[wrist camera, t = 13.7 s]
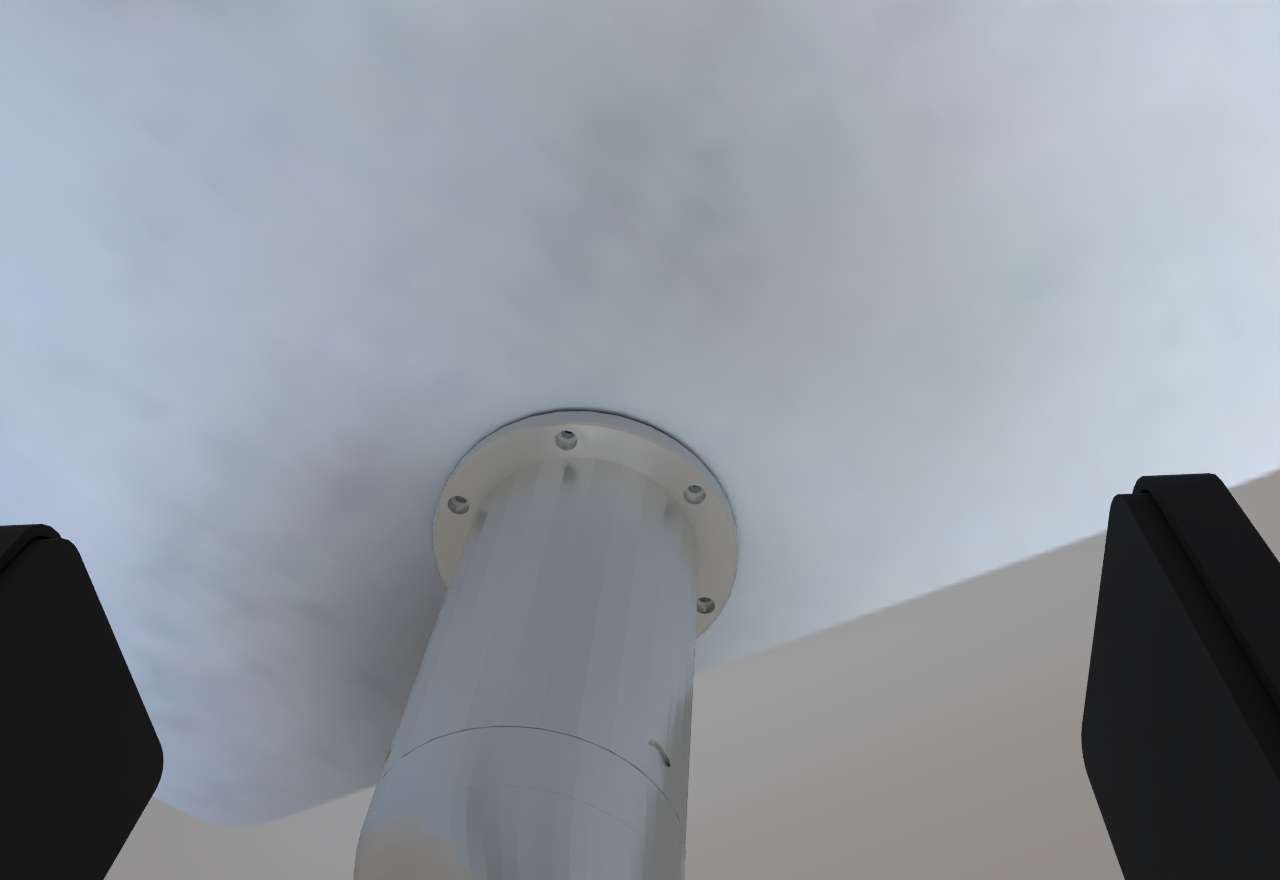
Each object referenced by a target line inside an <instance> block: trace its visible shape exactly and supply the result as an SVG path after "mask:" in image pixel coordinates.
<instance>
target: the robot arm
mask: <svg viewBox="0 0 1280 880" xmlns="http://www.w3.org/2000/svg"><path fill="white" fill-rule="evenodd" d="M564 430H566V431H571V432H572V433H571V434H569V433H566V432H565V431H564ZM693 485H695V486H698V487H692V486H693ZM433 551H434V556H435V560H436V564H437V569H438V572H439V575H440V577H441V579H442V581H443V583H444V585H445V587H446V590H447V593H446V595H445V598H444V601H443V604H442V607H441V609H440V612H439V615H438V618H437V620H436V623H435V626H434V629H433V631H432V634H431V637H430V640H429V643H428V645H427V648H426V651H425V654H424V656H423V659H422V662H421V665H420V667H419V670H418V673H417V676H416V679H415V681H414V684H413V687H412V690H411V692H410V695H409V698H408V701H407V703H406V706H405V709H404V712H403V715H402V717H401V720H400V723H399V726H398V728H397V731H396V734H395V737H394V739H393V742H392V745H391V748H390V750H389V753H388V756H387V759H386V762H385V765H384V767H383V770H382V773H381V775H380V778H379V781H378V784H377V786H376V789H375V792H374V795H373V798H372V801H371V804H370V807H369V810H368V813H367V816H366V818H365V821H364V824H363V827H362V830H361V834H360V838H359V842H358V846H357V852H356V861H355V869H354V880H684V876H685V854H686V851H685V839H686V817H687V797H688V776H689V755H690V735H691V715H692V694H693V674H694V653H695V639H697V638H698V637H699V636H701V635H702V634H703V633H704V632H705V631H706V630H707V628H708V627H709V626H710V625H711V624H712V623H713V622H714V621H715V619H716V618H717V617H718V616H719V614H720V612H721V611H722V609H723V607H724V605H725V604H726V602H727V600H728V598H729V596H730V594H731V590H732V587H733V583H734V580H735V577H736V573H737V556H738V545H737V530H736V523H735V520H734V517H733V514H732V510H731V507H730V504H729V501H728V499H727V498H726V496H725V494H724V492H723V490H722V489H721V487H720V485H719V483H718V482H717V480H716V478H715V477H714V476H713V475H712V474H711V472H710V471H709V470H708V469H707V468H706V467H705V466H704V464H703V463H702V462H701V461H700V460H699V459H698V458H697V457H696V456H695V455H694V454H692V453H691V452H690V451H688V450H687V449H686V448H685V447H683V446H682V445H681V444H680V443H678V442H677V441H676V440H674V439H672V438H671V437H669V436H667V435H665V434H663V433H661V432H659V431H658V430H656V429H654V428H652V427H650V426H648V425H645V424H642V423H639V422H636V421H633V420H630V419H627V418H624V417H621V416H616V415H610V414H603V413H597V412H591V411H567V412H554V413H548V414H543V415H538V416H532V417H528V418H526V419H523V420H520V421H518V422H515V423H512V424H510V425H507V426H505V427H502V428H501V429H499V430H497V431H496V432H494V433H493V434H491V435H489V436H488V437H486V438H485V439H483V440H481V441H480V442H479V443H478V444H477V445H476V446H475V447H474V448H473V449H471V450H470V451H469V452H468V453H467V454H466V455H465V456H464V457H463V458H462V459H461V460H460V462H459V463H458V465H457V466H456V468H455V469H454V471H453V473H452V474H451V476H450V477H449V479H448V480H447V482H446V485H445V487H444V489H443V492H442V494H441V496H440V499H439V501H438V505H437V509H436V513H435V518H434V522H433ZM1081 737H1082V751H1083V758H1084V763H1085V768H1086V771H1087V774H1088V777H1089V780H1090V783H1091V786H1092V789H1093V791H1094V794H1095V797H1096V800H1097V803H1098V805H1099V808H1100V811H1101V814H1102V816H1103V819H1104V822H1105V825H1106V828H1107V830H1108V833H1109V836H1110V839H1111V842H1112V844H1113V847H1114V850H1115V853H1116V856H1117V859H1118V861H1119V864H1120V867H1121V870H1122V873H1123V875H1124V878H1125V880H1280V563H1279V561H1278V560H1277V558H1276V557H1275V556H1274V554H1273V553H1272V552H1271V550H1270V549H1269V547H1268V546H1267V544H1266V543H1265V541H1264V540H1263V539H1262V537H1261V536H1260V534H1259V533H1258V532H1257V530H1256V529H1255V527H1254V526H1253V524H1252V523H1251V522H1250V520H1249V519H1248V517H1247V516H1246V515H1245V513H1244V512H1243V510H1242V509H1241V507H1240V506H1239V505H1238V503H1237V502H1236V500H1235V499H1234V497H1233V496H1232V495H1231V493H1230V492H1229V490H1228V489H1227V487H1226V486H1225V485H1224V483H1223V482H1222V481H1221V480H1220V479H1219V478H1218V477H1217V476H1216V475H1215V474H1210V473H1204V474H1181V475H1158V476H1142V477H1141V478H1139V479H1138V480H1137V482H1136V484H1135V486H1134V489H1133V493H1132V494H1117V495H1116V496H1115V497H1114V498H1113V501H1112V503H1111V508H1110V513H1109V521H1108V529H1107V536H1106V544H1105V553H1104V560H1103V567H1102V575H1101V583H1100V591H1099V599H1098V606H1097V614H1096V621H1095V629H1094V637H1093V645H1092V653H1091V660H1090V668H1089V676H1088V683H1087V691H1086V699H1085V706H1084V715H1083V722H1082V733H1081ZM162 771H163V751H162V747H161V744H160V742H159V739H158V737H157V735H156V732H155V730H154V727H153V725H152V723H151V720H150V718H149V716H148V713H147V711H146V709H145V706H144V704H143V702H142V699H141V697H140V695H139V692H138V690H137V688H136V685H135V683H134V680H133V678H132V676H131V673H130V671H129V669H128V666H127V664H126V662H125V659H124V657H123V655H122V652H121V650H120V648H119V645H118V643H117V640H116V638H115V636H114V633H113V631H112V629H111V626H110V624H109V622H108V619H107V617H106V615H105V612H104V610H103V608H102V605H101V603H100V601H99V598H98V596H97V593H96V591H95V589H94V586H93V584H92V582H91V579H90V577H89V575H88V572H87V570H86V568H85V565H84V563H83V561H82V558H81V556H80V553H79V552H78V550H77V548H76V547H75V545H74V544H73V543H72V542H70V541H69V540H66V539H63V538H61V536H60V535H59V533H58V532H57V531H55V530H54V529H53V528H52V527H50V526H47V525H44V524H31V525H8V526H0V880H103V879H104V878H105V876H106V874H107V872H108V871H109V869H110V867H111V866H112V864H113V862H114V860H115V859H116V857H117V855H118V854H119V852H120V850H121V848H122V847H123V845H124V843H125V842H126V840H127V838H128V836H129V835H130V833H131V831H132V830H133V828H134V826H135V824H136V823H137V821H138V819H139V818H140V816H141V814H142V812H143V811H144V809H145V807H146V805H147V804H148V802H149V800H150V799H151V797H152V795H153V793H154V792H155V790H156V788H157V786H158V784H159V782H160V779H161V775H162Z"/></svg>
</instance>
